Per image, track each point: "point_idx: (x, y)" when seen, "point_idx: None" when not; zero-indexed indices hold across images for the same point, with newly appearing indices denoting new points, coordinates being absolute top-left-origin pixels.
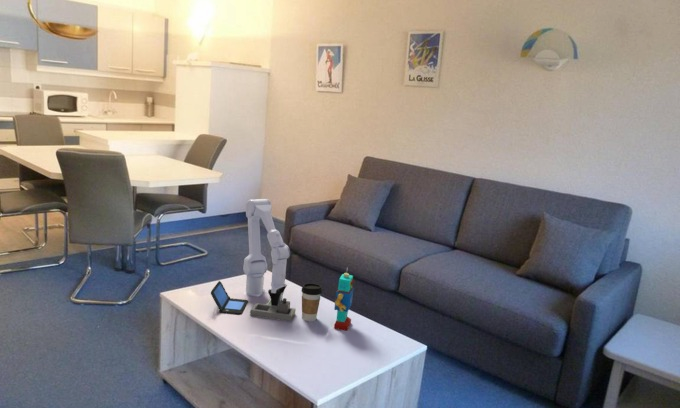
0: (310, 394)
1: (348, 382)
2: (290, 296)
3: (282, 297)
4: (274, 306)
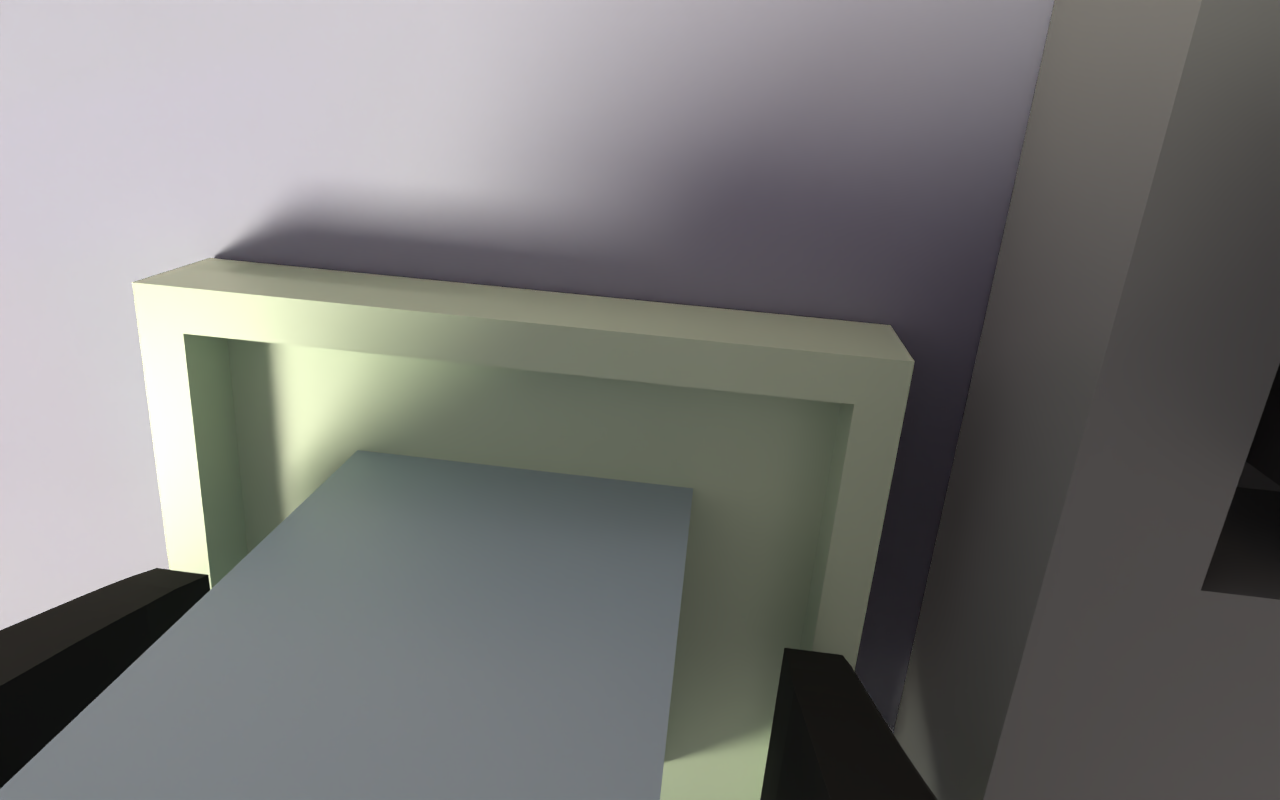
0: None
1: None
2: None
3: (180, 636)
4: (1111, 781)
